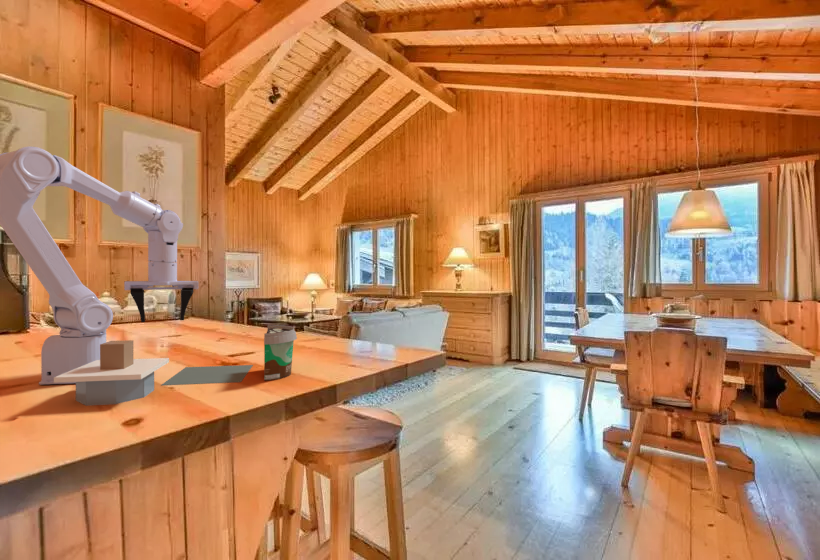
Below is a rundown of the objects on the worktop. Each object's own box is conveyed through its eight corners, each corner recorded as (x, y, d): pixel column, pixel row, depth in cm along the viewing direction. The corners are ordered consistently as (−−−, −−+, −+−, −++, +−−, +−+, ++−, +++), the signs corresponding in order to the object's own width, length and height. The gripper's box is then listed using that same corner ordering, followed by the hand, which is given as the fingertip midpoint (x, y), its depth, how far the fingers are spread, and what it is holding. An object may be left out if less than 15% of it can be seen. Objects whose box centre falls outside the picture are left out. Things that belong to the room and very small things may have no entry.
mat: (160, 387, 75) (160, 385, 75) (185, 369, 89) (185, 367, 89) (240, 384, 78) (240, 381, 78) (253, 367, 92) (253, 364, 92)
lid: (53, 382, 62) (53, 350, 62) (96, 364, 74) (96, 337, 74) (141, 379, 64) (140, 348, 64) (169, 362, 76) (169, 335, 76)
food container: (297, 383, 79) (297, 332, 79) (263, 385, 77) (264, 333, 77) (296, 368, 91) (296, 324, 91) (267, 370, 89) (267, 325, 89)
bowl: (64, 409, 63) (64, 380, 63) (99, 390, 73) (99, 365, 73) (136, 405, 65) (136, 378, 65) (160, 387, 75) (160, 363, 75)
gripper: (123, 261, 86) (123, 324, 86) (199, 262, 94) (199, 321, 94) (125, 261, 92) (125, 320, 92) (197, 263, 100) (196, 317, 100)
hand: (162, 320), depth 94 cm, fingers open, 7 cm apart
